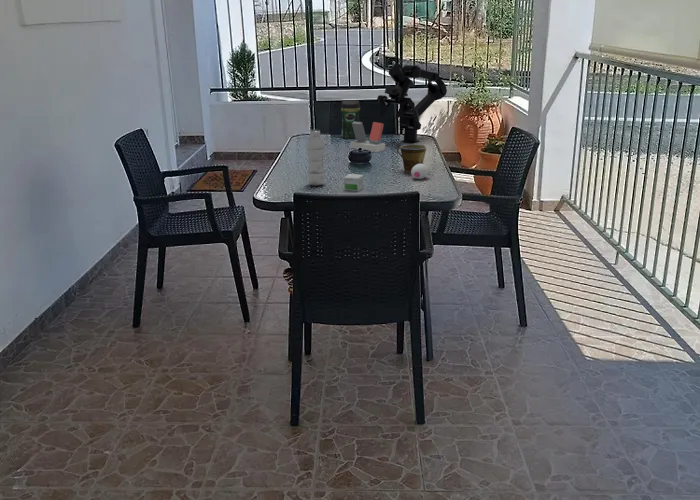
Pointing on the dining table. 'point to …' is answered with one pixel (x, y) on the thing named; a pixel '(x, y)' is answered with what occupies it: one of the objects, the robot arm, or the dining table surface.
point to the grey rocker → (359, 131)
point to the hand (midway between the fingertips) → (388, 117)
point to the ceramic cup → (412, 156)
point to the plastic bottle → (315, 159)
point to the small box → (353, 182)
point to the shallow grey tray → (368, 146)
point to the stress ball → (419, 171)
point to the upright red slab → (376, 132)
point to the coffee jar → (349, 117)
